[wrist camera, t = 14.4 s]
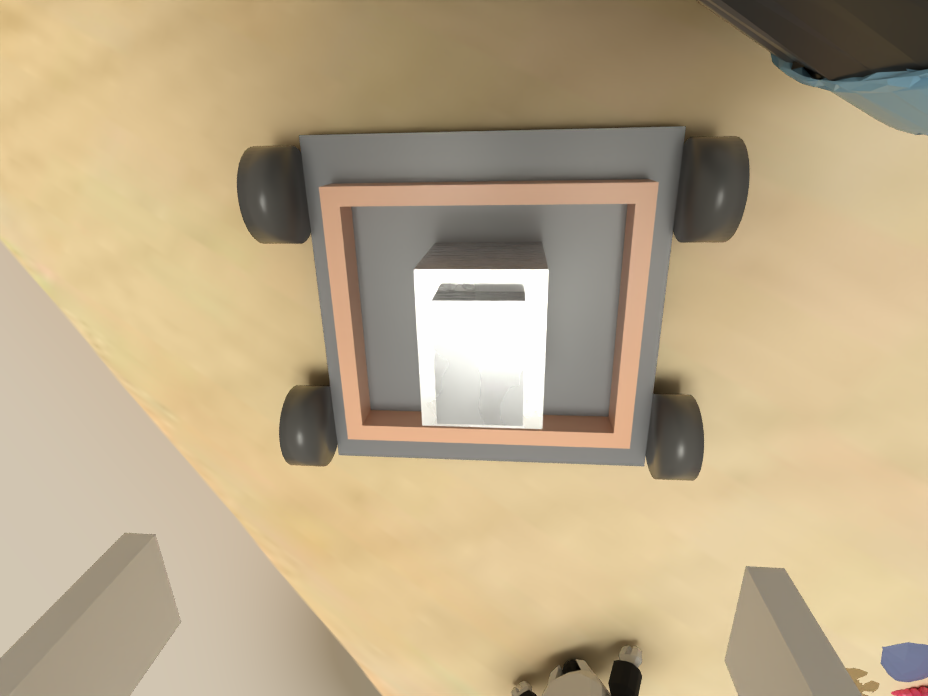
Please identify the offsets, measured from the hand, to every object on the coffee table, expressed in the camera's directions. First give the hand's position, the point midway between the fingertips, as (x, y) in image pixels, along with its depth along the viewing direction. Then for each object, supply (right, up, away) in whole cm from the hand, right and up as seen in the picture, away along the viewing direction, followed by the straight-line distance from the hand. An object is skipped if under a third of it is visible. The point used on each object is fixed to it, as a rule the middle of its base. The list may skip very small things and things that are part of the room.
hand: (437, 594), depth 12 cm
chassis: (+2, +8, +20) cm, 22 cm away
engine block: (+2, +8, +19) cm, 21 cm away
